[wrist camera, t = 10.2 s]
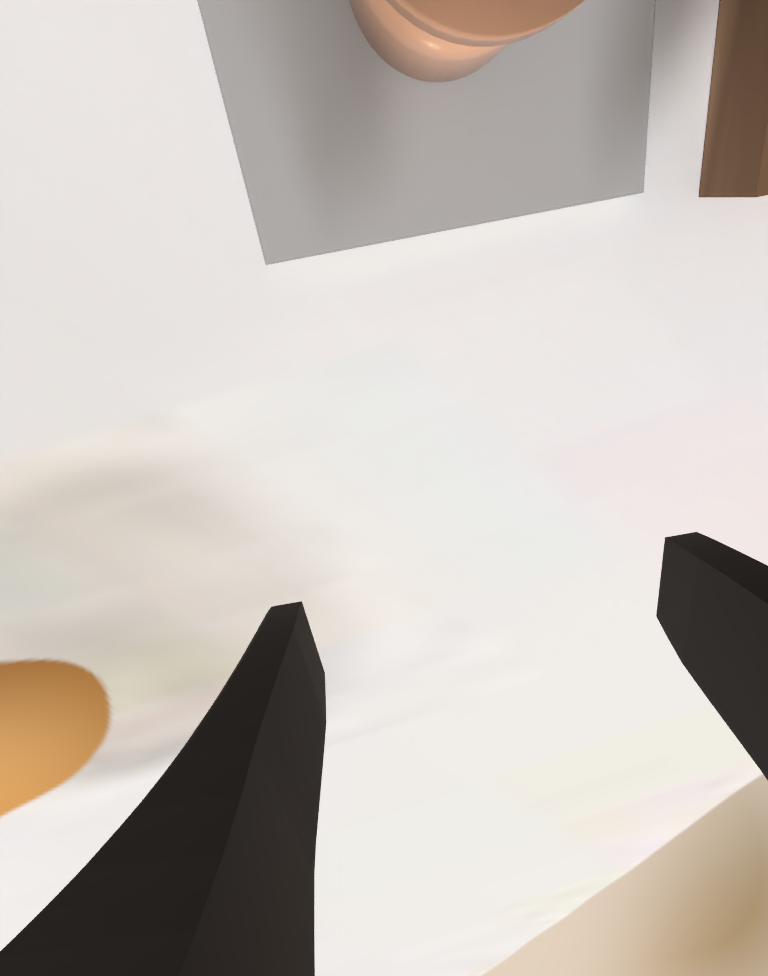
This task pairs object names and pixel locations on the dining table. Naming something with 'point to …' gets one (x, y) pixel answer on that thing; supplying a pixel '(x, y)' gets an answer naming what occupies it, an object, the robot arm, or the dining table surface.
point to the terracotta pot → (451, 31)
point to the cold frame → (738, 104)
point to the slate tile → (424, 123)
